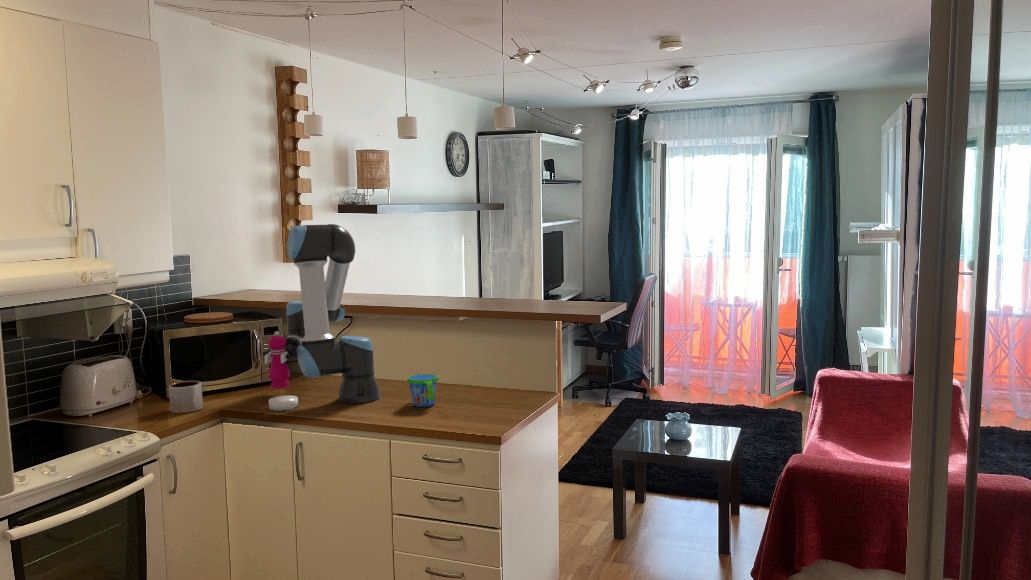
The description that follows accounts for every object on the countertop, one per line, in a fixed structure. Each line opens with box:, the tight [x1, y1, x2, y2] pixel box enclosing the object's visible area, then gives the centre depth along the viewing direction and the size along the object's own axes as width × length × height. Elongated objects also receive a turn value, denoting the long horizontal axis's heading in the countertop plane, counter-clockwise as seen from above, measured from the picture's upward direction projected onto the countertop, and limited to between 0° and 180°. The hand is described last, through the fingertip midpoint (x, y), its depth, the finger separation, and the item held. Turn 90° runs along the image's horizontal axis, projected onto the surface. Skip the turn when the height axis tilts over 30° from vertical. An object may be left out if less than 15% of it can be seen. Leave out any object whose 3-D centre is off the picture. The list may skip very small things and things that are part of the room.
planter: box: [168, 380, 204, 414], centre depth 278 cm, size 11×11×10 cm
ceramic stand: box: [268, 395, 299, 412], centre depth 278 cm, size 10×10×3 cm
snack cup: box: [406, 373, 439, 408], centre depth 274 cm, size 16×10×10 cm
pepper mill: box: [268, 331, 291, 389], centre depth 276 cm, size 7×7×20 cm
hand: (273, 359), depth 271 cm, fingers closed on pepper mill, 5 cm apart
